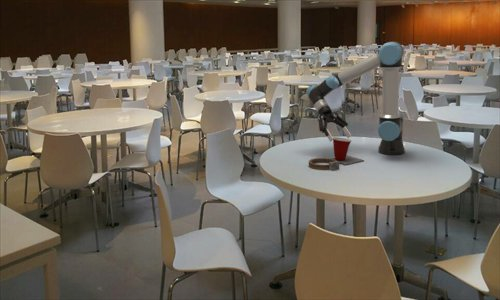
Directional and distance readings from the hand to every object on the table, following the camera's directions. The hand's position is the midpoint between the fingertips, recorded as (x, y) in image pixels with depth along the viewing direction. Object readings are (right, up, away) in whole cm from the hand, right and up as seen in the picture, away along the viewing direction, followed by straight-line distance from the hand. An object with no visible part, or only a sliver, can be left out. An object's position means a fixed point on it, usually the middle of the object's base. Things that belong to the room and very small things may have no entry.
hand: (340, 138), depth 283 cm
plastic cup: (0, -12, -1) cm, 12 cm away
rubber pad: (+3, -13, 0) cm, 13 cm away
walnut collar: (-11, -15, -10) cm, 21 cm away
